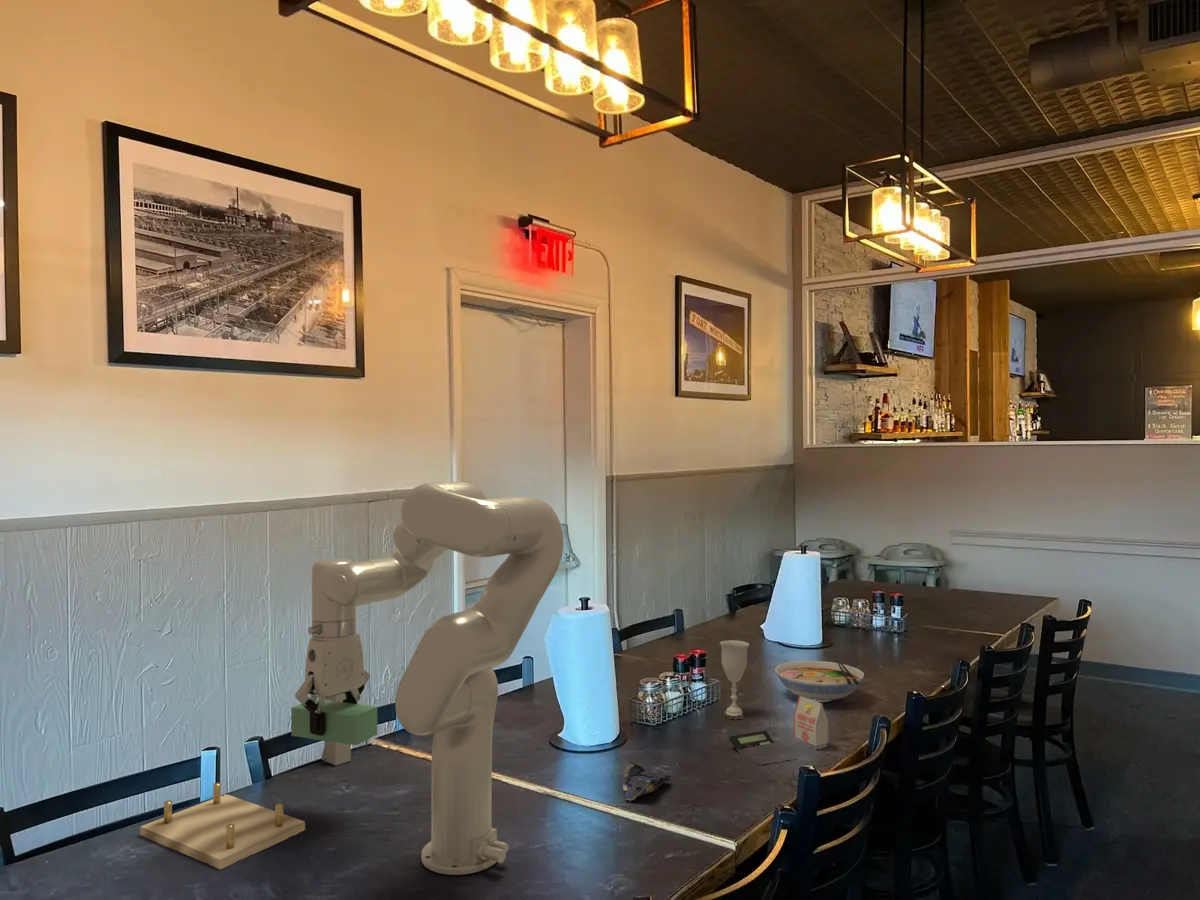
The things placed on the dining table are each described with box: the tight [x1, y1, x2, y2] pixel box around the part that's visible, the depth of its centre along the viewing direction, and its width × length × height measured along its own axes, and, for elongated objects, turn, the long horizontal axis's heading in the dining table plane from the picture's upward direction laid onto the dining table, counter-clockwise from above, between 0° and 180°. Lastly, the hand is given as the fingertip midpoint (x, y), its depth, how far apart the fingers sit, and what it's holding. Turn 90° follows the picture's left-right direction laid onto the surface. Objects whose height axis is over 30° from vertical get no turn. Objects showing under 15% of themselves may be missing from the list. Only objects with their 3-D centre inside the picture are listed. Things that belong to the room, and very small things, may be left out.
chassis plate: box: [139, 782, 306, 870], centre depth 144 cm, size 22×16×5 cm
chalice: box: [719, 639, 750, 716], centre depth 208 cm, size 7×7×18 cm
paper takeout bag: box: [793, 696, 829, 746], centre depth 189 cm, size 4×7×10 cm, turn 32°
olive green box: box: [290, 698, 378, 746], centre depth 152 cm, size 14×6×5 cm, turn 69°
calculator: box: [729, 730, 775, 750], centre depth 183 cm, size 9×12×3 cm
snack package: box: [621, 761, 672, 801], centre depth 163 cm, size 12×6×12 cm
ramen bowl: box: [774, 659, 865, 701], centre depth 223 cm, size 25×23×8 cm
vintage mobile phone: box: [321, 693, 352, 767], centre depth 178 cm, size 4×5×25 cm
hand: (334, 727), depth 152 cm, fingers closed on olive green box, 6 cm apart
